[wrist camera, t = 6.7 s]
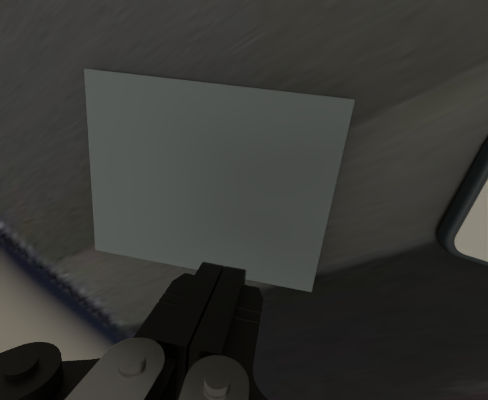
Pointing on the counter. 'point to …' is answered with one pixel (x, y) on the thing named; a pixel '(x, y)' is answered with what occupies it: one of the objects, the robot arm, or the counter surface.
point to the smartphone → (469, 215)
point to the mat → (213, 173)
